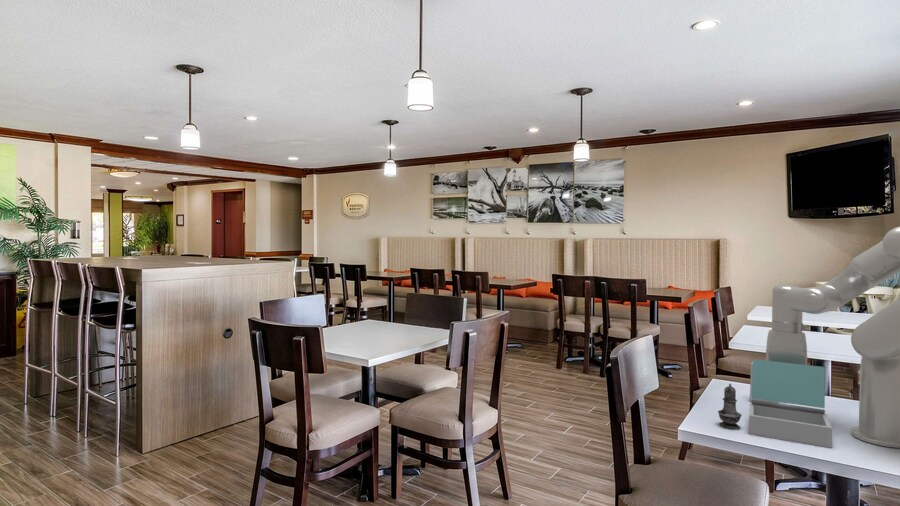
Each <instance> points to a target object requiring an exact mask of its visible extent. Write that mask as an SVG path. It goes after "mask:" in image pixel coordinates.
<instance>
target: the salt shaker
mask: <svg viewBox="0 0 900 506" xmlns="http://www.w3.org/2000/svg"><path fill="white" fill-rule="evenodd" d="M723 391H724V397H723V398H722V401H723V407H722V409H720V410H718V411H717V413H718V417H719V420H721V422H719V423H718V426H719V425H720V426H719V427H721V426H722V427H721V428H723V427H724V429H727V428H728V430H740V429H741V427H740V425H739V424H738V423H739V422H740V420H741V417H742V413H740V412H738V411H737V409H736V408H737V407H736V404H737V402H738V400H737V399H736V398H737V397H736V396H737V395H736V392H737V389H736V388H734V387H733V386H732V384H731V383H729V384H728V386H726V387H724V390H723ZM739 428H740V429H739Z"/></svg>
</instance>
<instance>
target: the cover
mask: <svg viewBox="0 0 900 506" xmlns="http://www.w3.org/2000/svg"><path fill="white" fill-rule="evenodd" d="M752 362H753V367H752V398H754V399H761V400H768V401H776V402H779V403H773V402H765V401H758V400H752V402H751V404H756V405H763V406H770V407H777V408H784V409H791V410H798V411H804V412H811V413H818V414H826V410H825V408H826V407H825V405H826V403H825V402H826V401H825V400H826V399H825V398H826V397H825V395H826V392H825V389H826V386H825V385H826V384H825V383H826V382H825V381H826V380H825V378H826V376H825V373H826V371H825V370H826V369H825V368H826V367H825V366H819V365H812V364H811V365H808V364H807V365H801V364H792V363H783V362H773V361H766V360H764V359H763V360H761V359H755V358H754V359H752Z"/></svg>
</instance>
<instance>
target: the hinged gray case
mask: <svg viewBox="0 0 900 506" xmlns="http://www.w3.org/2000/svg"><path fill="white" fill-rule="evenodd" d="M748 434H749V435H753V436H754V435H755V436H758V437H763V438H764V437H765V438H771V439H777V440H782V441H789V442H794V443H800V444H807V445H812V446H819V447H824V448H830V449H831V448H833V446H832V445H833V427H832V424H831V422H830V420H829V417H828V415H827V414H826V413H825V414H818V413H811V412H804V411H798V410H791V409H784V408H777V407H770V406H763V405H756V404H752V402H750V403H749V415H748Z"/></svg>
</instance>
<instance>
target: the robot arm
mask: <svg viewBox="0 0 900 506" xmlns="http://www.w3.org/2000/svg"><path fill="white" fill-rule="evenodd" d="M898 273H900V226H896V227H894V228H892V229H890V230H889V231H888V232H887V233H886V234H885V235H884V237H883V239H882V240H881V241H880V242H878V243H877V244H875V245H873V246H871V247H870V248H868V249H867V250H865V251H863V252H862V253H860V254H858V255H857V256H855V257H853V258H852V260H850V262H849V265H848V266H847V267H846V269H844V270H843V271H842V272H841V273H839V274H838V275H836V276H835V277H833V278H831V279H830V280H828V281H826V282H824V283H823V284H821V285H818V286H813V287H801V286H796V285H786V284H785V285H783V284H782V285H781V284H779V285H775V286H774V287H773V289H772V297H771V298H772V301H771V302H772V303H771V305H772V308H771V309H772V310H771V315H772V316H771V329H769V330H768V332H767V333H768V334H767V336H766V337H767V339H766V347H765V348H766V349H765V350H766V351H765V361H773V362H783V363H792V364H801V365H808V346H807V336H806V334H805V332H803V331H805V330H809V324H804V323H803V313H806V314H810V315H811V314H813V315H818V314H824V313H829V312H832V311H834V310H836V309H839V308H841V307H842V306H844V305H845V304H848V303H849V302H852V301H853V300H855V299H856V298H858V297H859V296H861V295H863V294H865V293H867V292H868V291H869V290H872V289H873V288H875V287H877V286H878V285H880V284H881V283H883V282H884V281H887V280H888V279H889V278H892V277H893V276H895V275H897V274H898ZM850 342H851V346H852V348H853V349H854V351H855V352H856V353H857V354H858V355H859V356H861V359H860V371H859V372H860V373H859V374H860V375H859V398H858V399H859V400H858V401H859V403H858V405H859V406H858V407H859V408H858V426H854V427H852V428H850V429H851V430H850V433H851V435H852V436H853V437H854V438H856V439H859V440H860V441H863V442H866V443H869V444H874V445H878V446H882V447H887V448H895V449H900V298H898V299H896V300H894V301H893V302H891V303H889V304H888V305H887V306H885V307H884V308H883V309H881V310H879V311H878V312H876V313H875V314H873V315H872V316H871V317H869V318H868V319H866V320H865V321H863V322H862V323H860V324H859V325H858V326H857V327H855V328H854V329H853V331H852V333H851V337H850Z"/></svg>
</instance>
